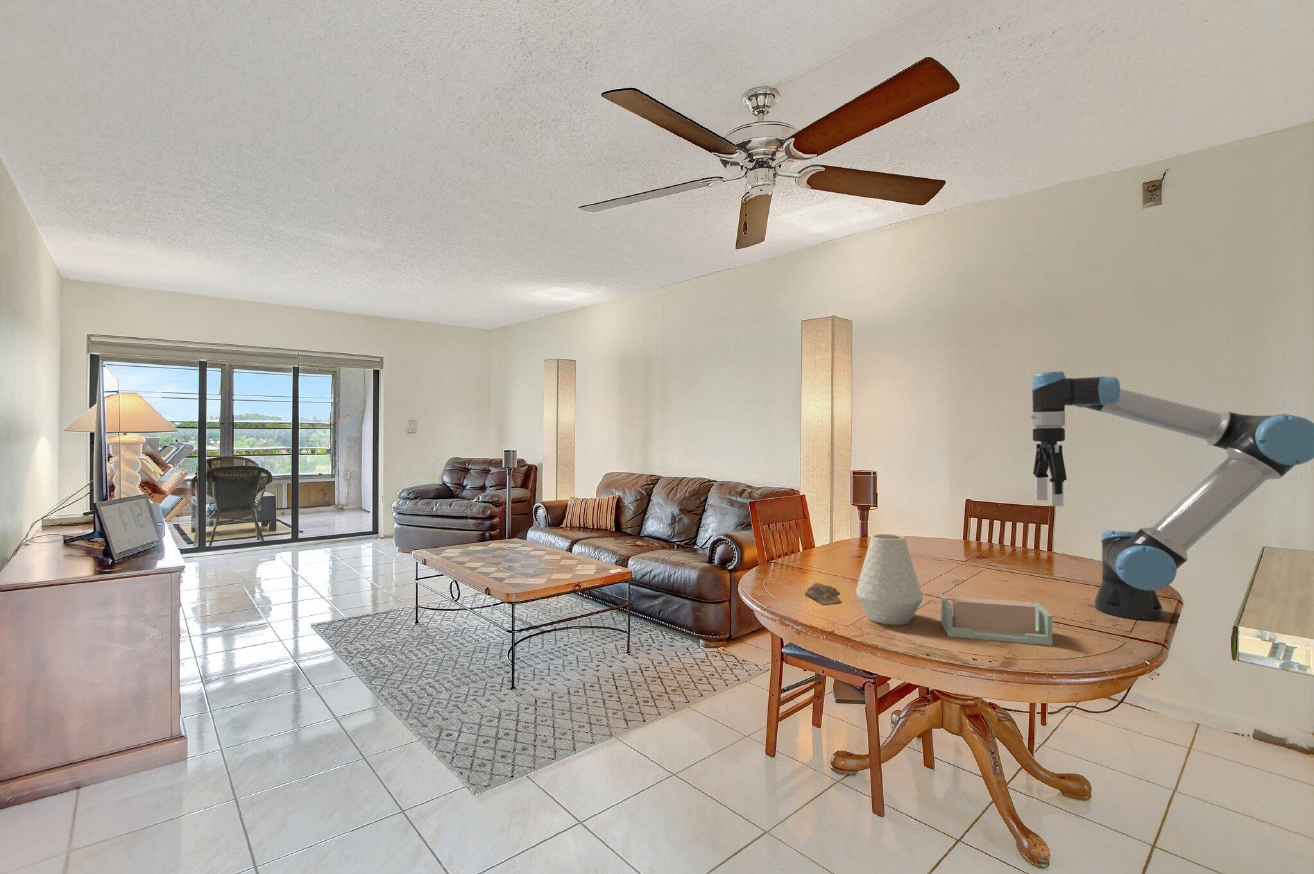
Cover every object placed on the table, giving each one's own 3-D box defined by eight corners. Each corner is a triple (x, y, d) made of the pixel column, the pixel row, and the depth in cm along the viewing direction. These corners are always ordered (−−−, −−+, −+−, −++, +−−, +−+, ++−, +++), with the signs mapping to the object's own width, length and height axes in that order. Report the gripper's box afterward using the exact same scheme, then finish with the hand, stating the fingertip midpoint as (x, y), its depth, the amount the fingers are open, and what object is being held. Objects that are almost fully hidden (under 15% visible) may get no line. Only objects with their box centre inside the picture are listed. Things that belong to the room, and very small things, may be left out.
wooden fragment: (842, 607, 177) (842, 603, 177) (805, 605, 179) (805, 602, 179) (836, 585, 202) (836, 581, 202) (803, 583, 204) (803, 580, 204)
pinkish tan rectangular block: (1030, 629, 151) (1030, 602, 151) (1035, 634, 147) (1035, 607, 147) (953, 622, 157) (952, 596, 157) (955, 628, 153) (955, 601, 153)
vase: (876, 631, 155) (875, 544, 154) (844, 611, 172) (844, 532, 172) (936, 626, 157) (935, 541, 157) (899, 607, 175) (899, 530, 174)
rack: (1038, 630, 154) (1038, 602, 154) (1052, 645, 143) (1052, 616, 143) (941, 622, 161) (941, 596, 161) (947, 636, 150) (947, 608, 150)
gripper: (1021, 427, 178) (1021, 497, 178) (1047, 427, 154) (1047, 508, 154) (1049, 427, 175) (1050, 498, 175) (1080, 427, 151) (1081, 509, 152)
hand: (1049, 503), depth 165 cm, fingers open, 13 cm apart
